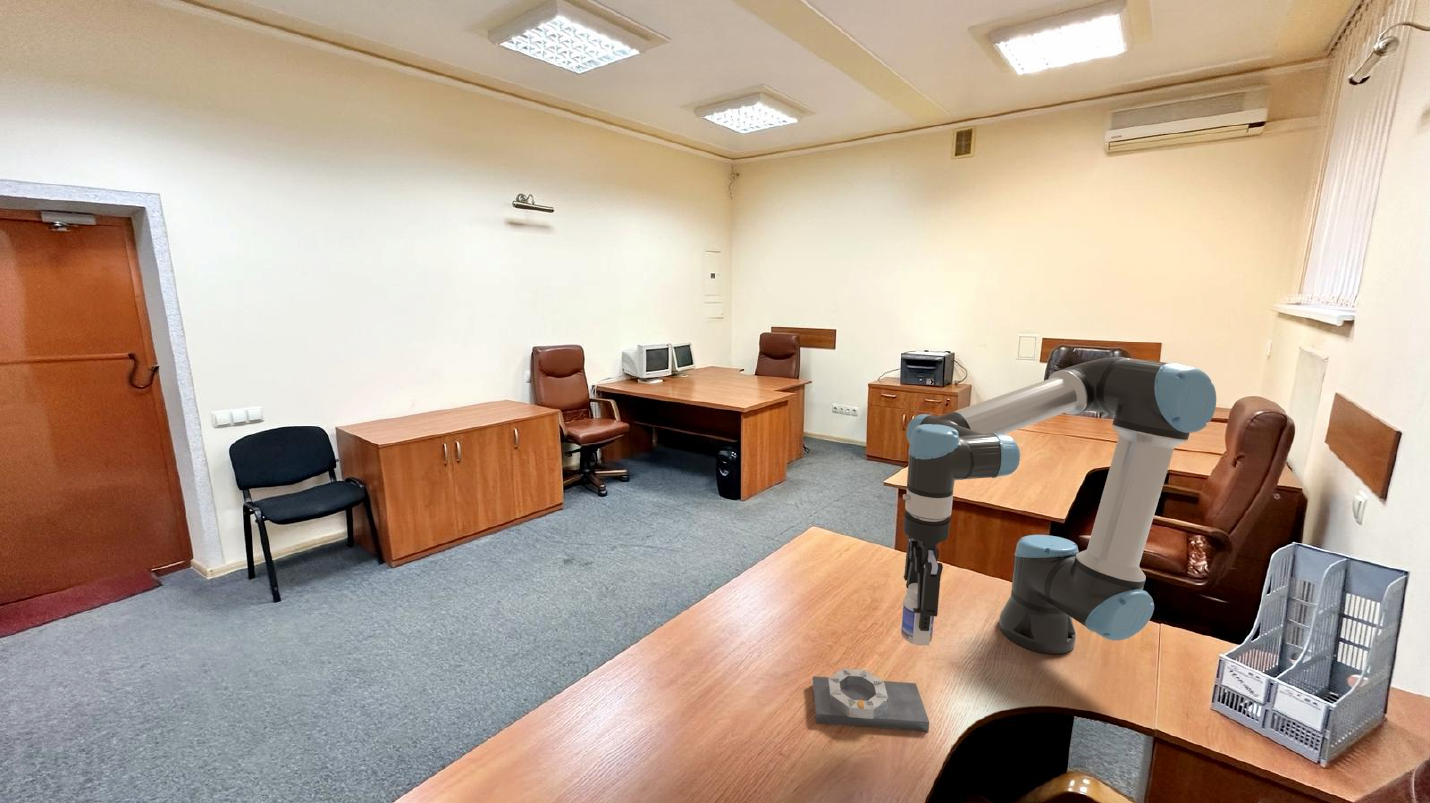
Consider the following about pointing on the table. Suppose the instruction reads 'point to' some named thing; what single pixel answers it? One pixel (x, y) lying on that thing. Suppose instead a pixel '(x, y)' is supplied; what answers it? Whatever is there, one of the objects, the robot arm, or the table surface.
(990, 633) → the table surface
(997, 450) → the robot arm
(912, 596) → the pill bottle
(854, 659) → the table surface
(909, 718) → the hub plate
